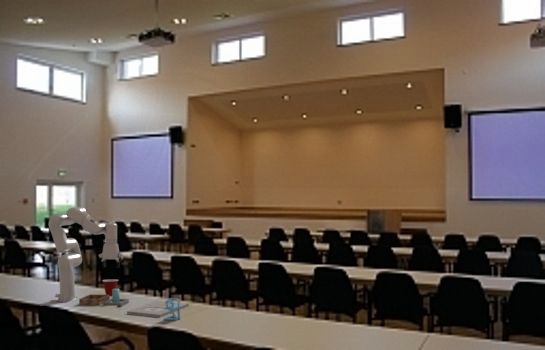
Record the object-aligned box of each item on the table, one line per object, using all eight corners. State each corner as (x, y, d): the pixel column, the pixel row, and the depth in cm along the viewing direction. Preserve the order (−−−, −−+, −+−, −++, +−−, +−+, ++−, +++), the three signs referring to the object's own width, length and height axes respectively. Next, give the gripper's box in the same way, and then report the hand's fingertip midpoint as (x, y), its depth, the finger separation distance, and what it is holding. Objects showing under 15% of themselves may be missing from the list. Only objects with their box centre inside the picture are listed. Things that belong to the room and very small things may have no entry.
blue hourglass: (174, 321, 299) (173, 300, 299) (163, 319, 303) (162, 299, 303) (183, 318, 305) (182, 297, 305) (172, 316, 310) (172, 296, 310)
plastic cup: (121, 294, 375) (120, 278, 375) (115, 298, 364) (114, 281, 364) (106, 295, 376) (106, 278, 376) (100, 298, 365) (99, 281, 365)
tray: (103, 306, 340) (103, 302, 340) (111, 302, 352) (111, 298, 352) (120, 306, 338) (120, 303, 338) (128, 302, 350) (128, 298, 350)
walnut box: (79, 306, 341) (79, 299, 341) (90, 301, 355) (90, 294, 355) (99, 307, 339) (99, 299, 339) (109, 302, 353) (109, 294, 353)
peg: (111, 303, 343) (110, 290, 343) (114, 302, 347) (114, 288, 348) (117, 303, 342) (117, 290, 342) (120, 302, 347) (120, 288, 347)
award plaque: (188, 306, 336) (188, 303, 336) (160, 318, 309) (160, 314, 309) (157, 303, 346) (157, 300, 346) (127, 314, 319) (127, 311, 319)
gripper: (96, 242, 347) (96, 268, 347) (120, 242, 344) (120, 268, 344) (101, 240, 354) (101, 266, 354) (125, 241, 351) (125, 267, 351)
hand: (111, 267), depth 349 cm, fingers open, 9 cm apart
